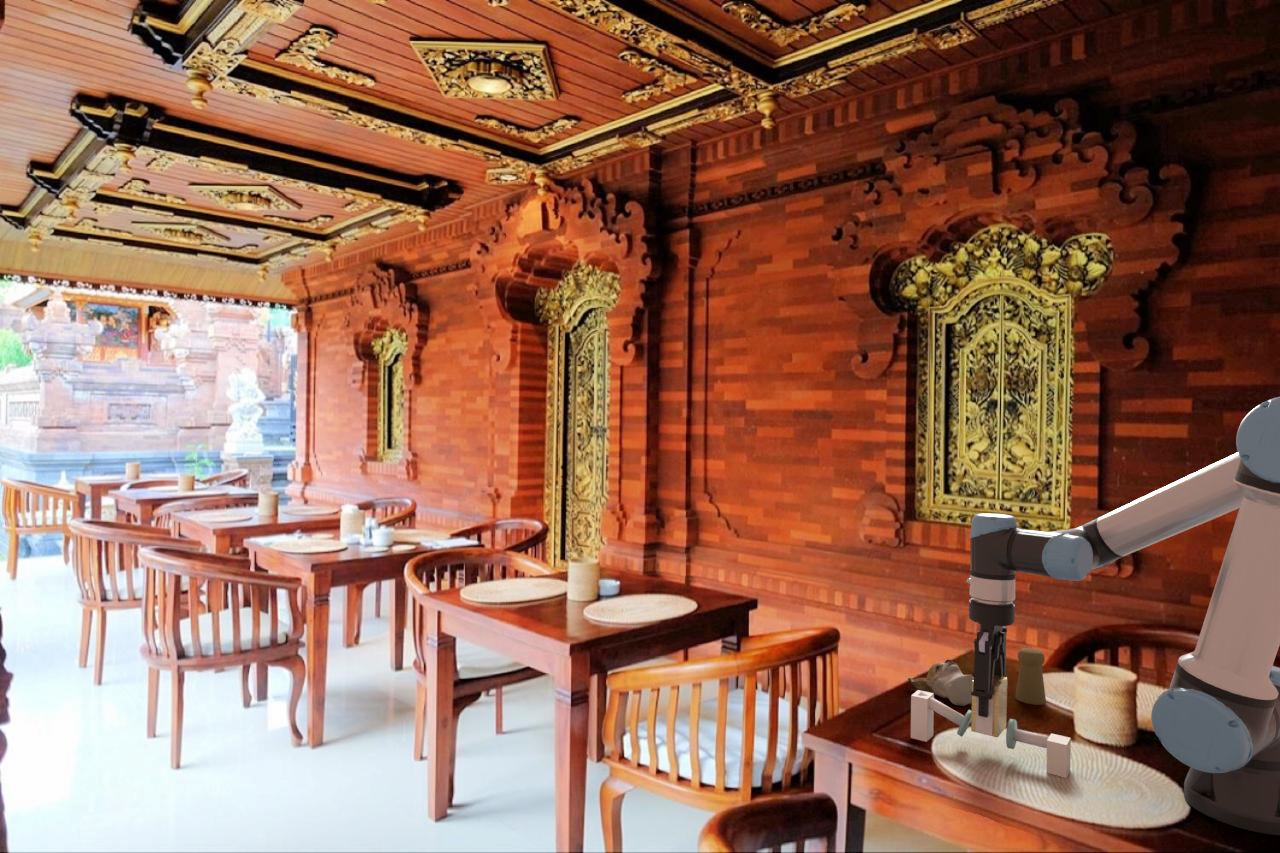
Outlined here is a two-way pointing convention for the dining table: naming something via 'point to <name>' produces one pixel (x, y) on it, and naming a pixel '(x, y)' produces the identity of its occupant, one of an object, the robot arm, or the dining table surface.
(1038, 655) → the olive pepper shaker
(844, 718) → the dining table surface
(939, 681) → the ceramic sculpture
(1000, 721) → the tan rectangular block
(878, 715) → the dining table surface
